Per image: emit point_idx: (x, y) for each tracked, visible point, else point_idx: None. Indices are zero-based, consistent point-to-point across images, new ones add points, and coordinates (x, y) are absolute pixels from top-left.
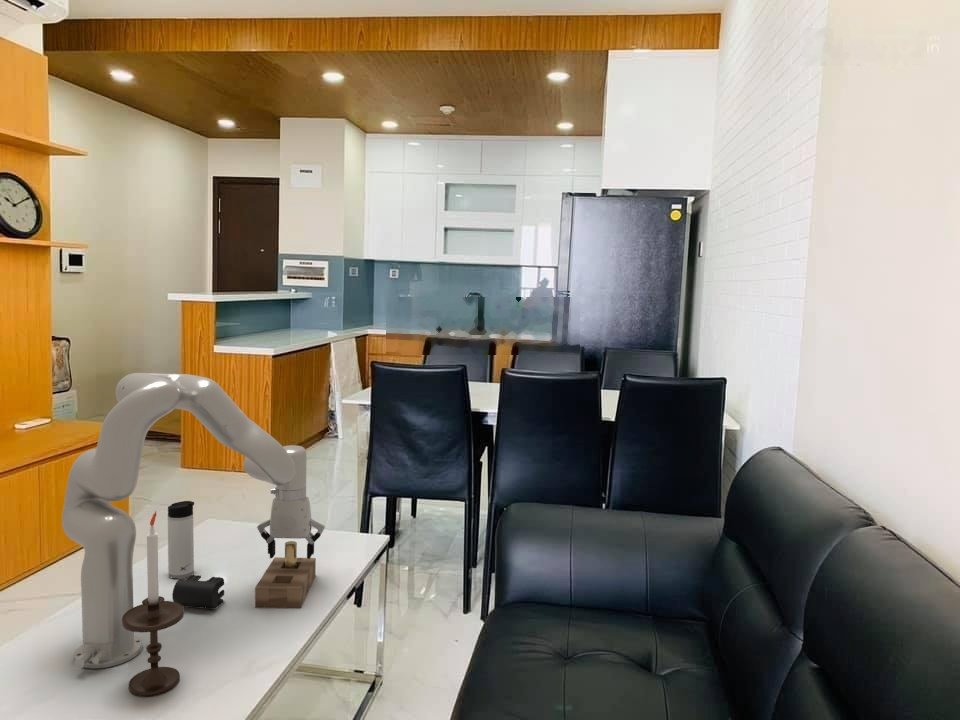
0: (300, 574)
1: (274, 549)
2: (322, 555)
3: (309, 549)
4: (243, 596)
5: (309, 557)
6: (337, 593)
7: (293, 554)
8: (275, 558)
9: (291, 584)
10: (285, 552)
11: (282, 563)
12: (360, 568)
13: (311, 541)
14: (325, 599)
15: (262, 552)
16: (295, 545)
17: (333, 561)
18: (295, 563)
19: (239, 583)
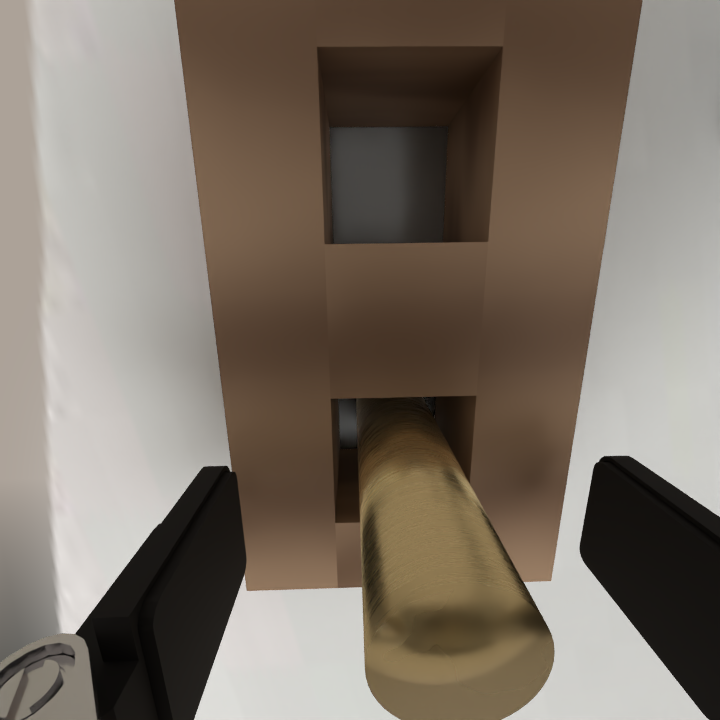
0: (273, 280)
1: (628, 576)
2: (305, 703)
3: (147, 543)
4: (632, 215)
5: (201, 473)
6: (72, 284)
7: (384, 498)
8: (542, 563)
9: (293, 18)
10: (486, 517)
11: (475, 485)
12: (66, 592)
13: (20, 702)
14: (115, 192)
15: (591, 709)
16: (373, 615)
17: (232, 652)
18: (362, 456)
19: (670, 387)
